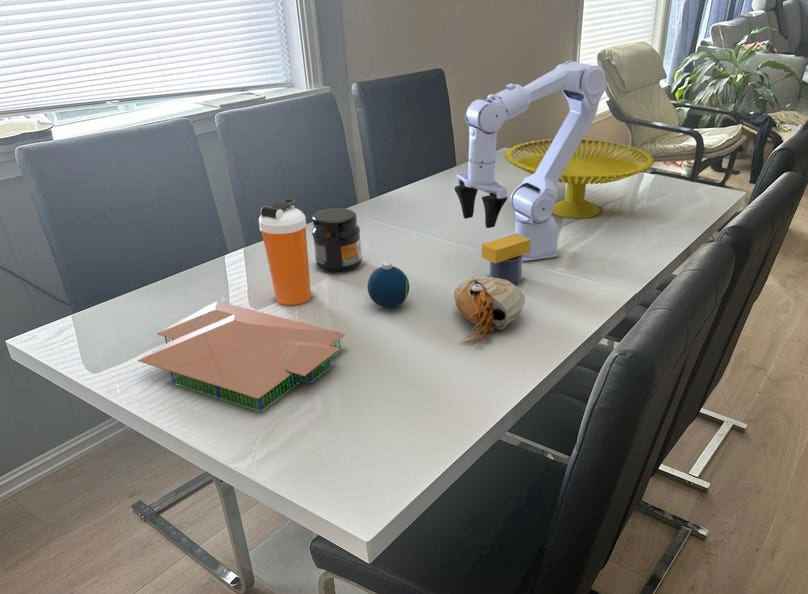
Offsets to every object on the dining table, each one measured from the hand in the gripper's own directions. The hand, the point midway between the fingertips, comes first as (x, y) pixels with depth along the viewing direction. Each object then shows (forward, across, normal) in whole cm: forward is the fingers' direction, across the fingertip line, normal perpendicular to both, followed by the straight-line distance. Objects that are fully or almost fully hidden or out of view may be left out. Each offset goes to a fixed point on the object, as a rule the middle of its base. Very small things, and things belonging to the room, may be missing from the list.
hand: (479, 222), depth 153 cm
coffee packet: (+4, +10, -1) cm, 11 cm away
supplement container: (+12, -20, -24) cm, 34 cm away
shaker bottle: (+12, -12, -40) cm, 44 cm away
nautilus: (+11, +23, -18) cm, 31 cm away
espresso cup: (+10, +10, 0) cm, 14 cm away
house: (+13, +6, -59) cm, 61 cm away
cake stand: (+9, -13, +47) cm, 49 cm away
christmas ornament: (+12, +4, -27) cm, 30 cm away
